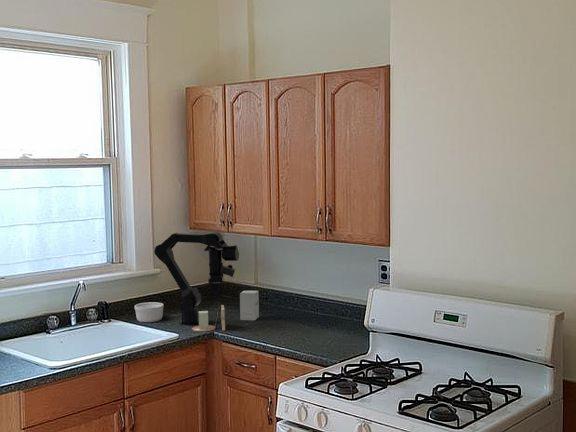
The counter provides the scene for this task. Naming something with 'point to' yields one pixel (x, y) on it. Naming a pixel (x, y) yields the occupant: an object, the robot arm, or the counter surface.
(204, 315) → the sage block
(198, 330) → the disc
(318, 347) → the counter surface
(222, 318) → the divider board
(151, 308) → the ramekin
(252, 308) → the supplement box
